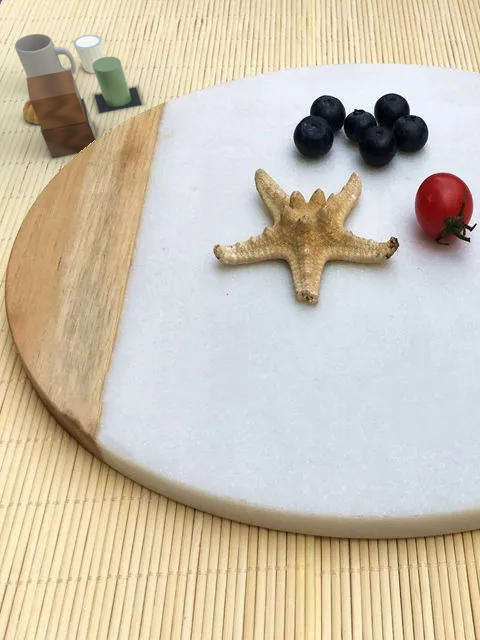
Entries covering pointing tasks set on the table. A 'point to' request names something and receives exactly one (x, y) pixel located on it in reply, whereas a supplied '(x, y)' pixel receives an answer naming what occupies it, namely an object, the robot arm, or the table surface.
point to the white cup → (89, 50)
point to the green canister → (112, 81)
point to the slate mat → (134, 102)
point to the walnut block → (61, 113)
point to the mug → (41, 55)
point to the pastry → (30, 113)
